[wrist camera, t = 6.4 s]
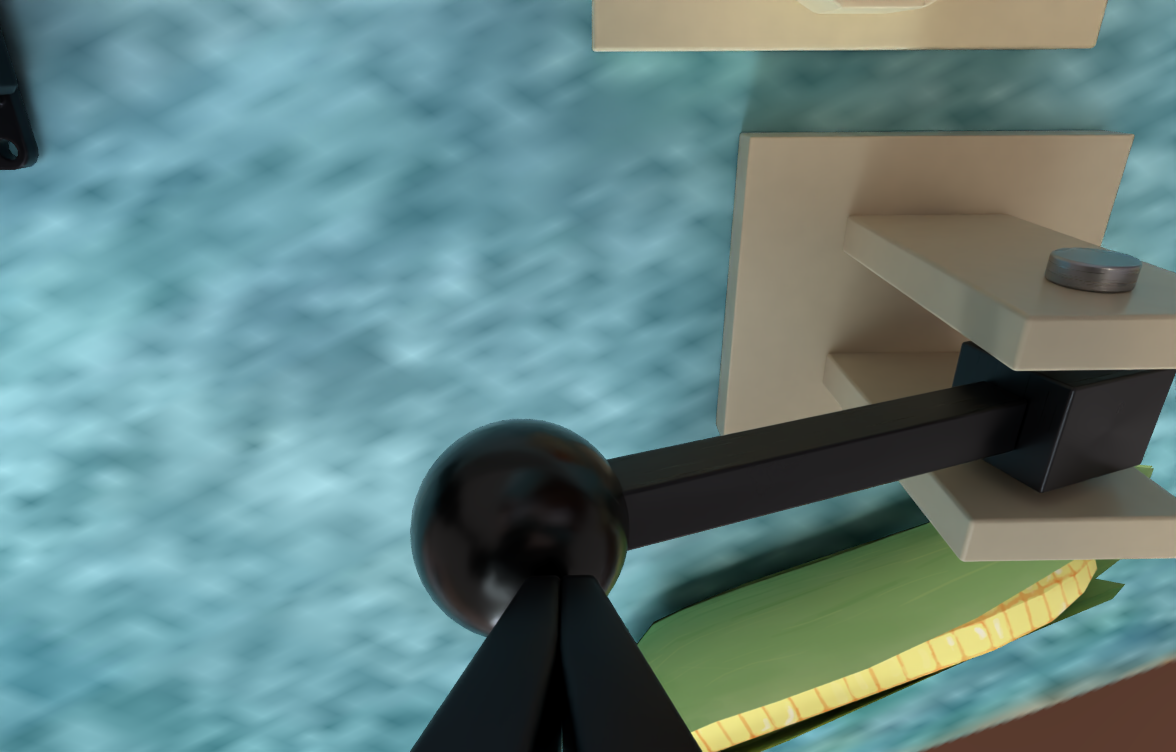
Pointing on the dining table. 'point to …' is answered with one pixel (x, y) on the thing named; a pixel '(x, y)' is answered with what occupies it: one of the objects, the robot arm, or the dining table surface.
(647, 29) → the control block
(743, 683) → the edible corn
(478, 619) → the black lever handle
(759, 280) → the lever stand
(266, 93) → the dining table surface
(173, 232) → the dining table surface
